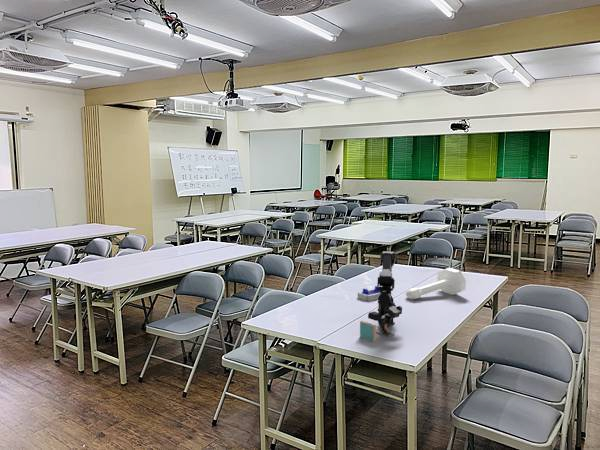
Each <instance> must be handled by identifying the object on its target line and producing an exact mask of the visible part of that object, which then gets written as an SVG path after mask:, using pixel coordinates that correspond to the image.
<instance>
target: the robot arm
mask: <svg viewBox="0 0 600 450" xmlns="http://www.w3.org/2000/svg"><path fill="white" fill-rule="evenodd" d="M379 258H380V259H379V260H380V261H381V264H382V270H381V271H380V272H379V276H378V277H377V283H376V284H377V285H376V286H377V290H380V294H379V297H378V299H377V300H378V301H377V305H378V307H377V311H375V310H374V311H370V312H368V313H367V319H370V320H373V321H377V323H378V324H379V326H380V329H382V330H383V331H384V325H385V322H387V330H388V329H389V328H390V327H389V326H391V325H394V324H395V322H394V319H395V318H399V317H400V315H402V314H403V306H402V305H398V306H397V305H396V304H395V301H394V297H393V296H392V291H393V290H394V289H395V278H394V277H393V273H392V272H393V271H392V268H393V267H394V266H395V264H396V263H395V262H396V260H397V253H396V252H395V251H386V250H385V251H382V252H380V254H379Z"/></svg>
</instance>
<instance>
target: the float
mask: <svg viewBox="0 0 600 450" xmlns="http://www.w3.org/2000/svg"><path fill="white" fill-rule="evenodd" d="M376 334H378V335H381V336H384V337H387V338H390V337H392V336H394V335H395V333H394V332H392V331H389V330H388V329H387V322H385V325H384V331H383V330H382V329H381V328H380V329H378V330H377V329H376Z"/></svg>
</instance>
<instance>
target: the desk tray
mask: <svg viewBox="0 0 600 450" xmlns="http://www.w3.org/2000/svg"><path fill="white" fill-rule="evenodd" d="M374 290H375V288H371V289H368V293H369V294H371V293H373V292H374ZM379 294H380V293H375V294H371V295H366V294H363V290H362V291H357V299H359V300H362V301H365V302H372V301H375V300H378V297H379Z"/></svg>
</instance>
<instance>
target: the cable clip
mask: <svg viewBox="0 0 600 450" xmlns="http://www.w3.org/2000/svg"><path fill="white" fill-rule="evenodd" d="M374 289H375V290H374V292H373V293H371V294H375V293H380V290H377V285H376V286H375V287H374ZM368 290H369V289H368V288H362V291H363V294H366V295H371V294H369V293H368Z"/></svg>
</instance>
